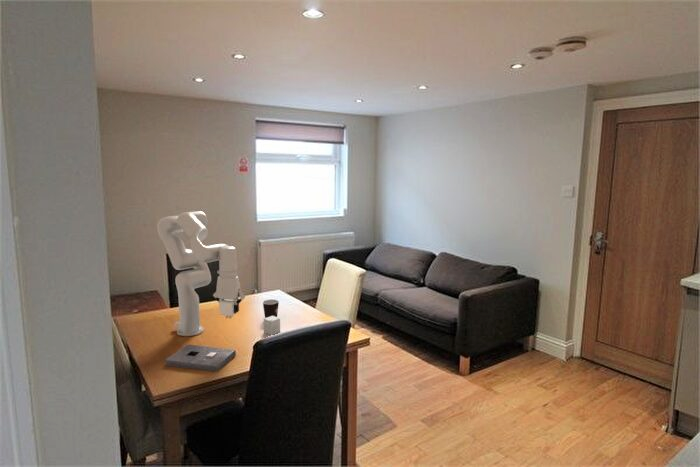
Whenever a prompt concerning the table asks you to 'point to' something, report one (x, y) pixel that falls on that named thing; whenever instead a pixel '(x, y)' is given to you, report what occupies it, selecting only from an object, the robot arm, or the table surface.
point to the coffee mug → (270, 307)
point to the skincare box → (271, 325)
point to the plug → (227, 308)
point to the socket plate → (200, 357)
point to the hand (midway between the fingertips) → (229, 311)
